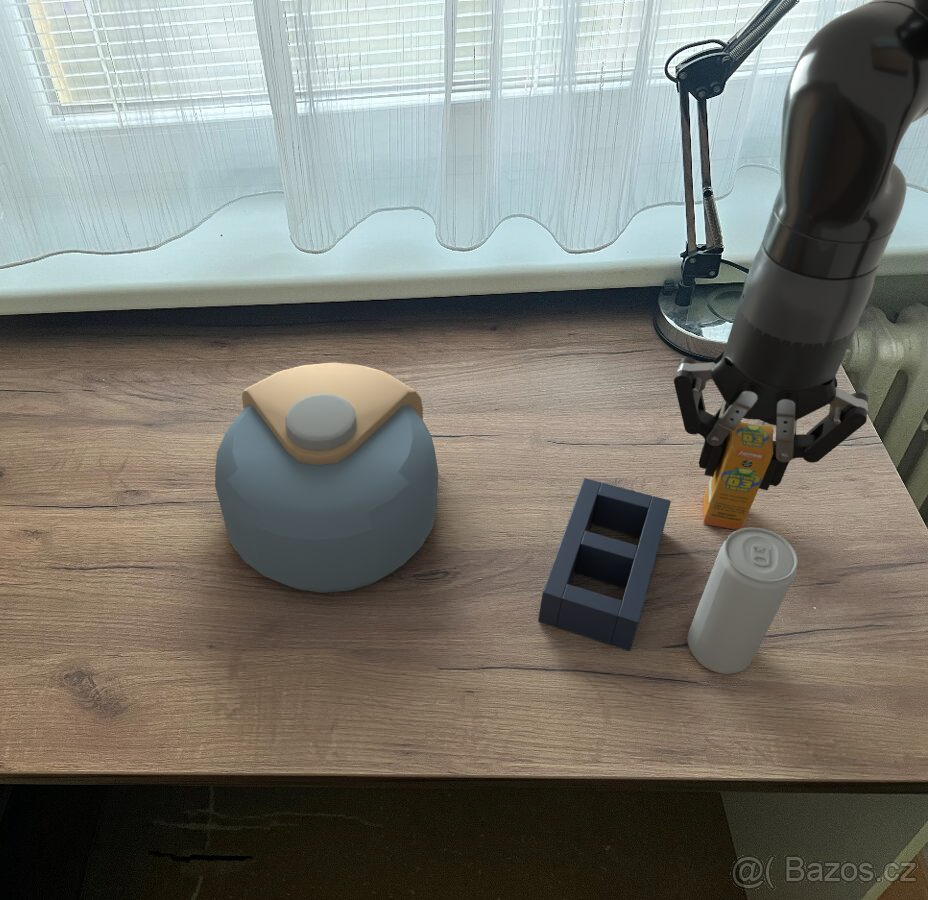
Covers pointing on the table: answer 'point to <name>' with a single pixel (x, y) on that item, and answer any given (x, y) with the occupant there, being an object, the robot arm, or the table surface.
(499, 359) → the table surface
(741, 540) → the beverage can
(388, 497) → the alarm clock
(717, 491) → the supplement box
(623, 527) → the holder
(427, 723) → the table surface
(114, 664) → the table surface
